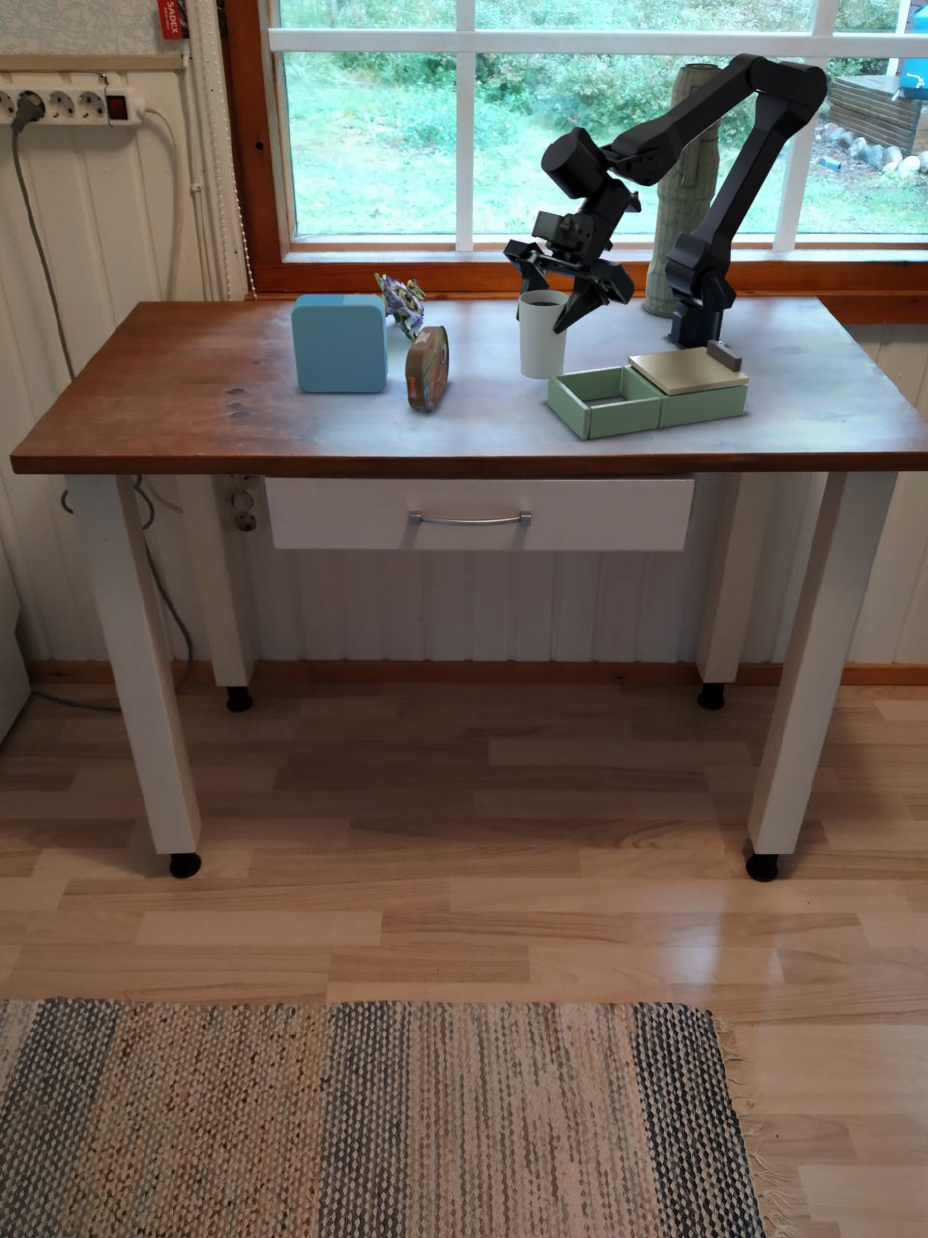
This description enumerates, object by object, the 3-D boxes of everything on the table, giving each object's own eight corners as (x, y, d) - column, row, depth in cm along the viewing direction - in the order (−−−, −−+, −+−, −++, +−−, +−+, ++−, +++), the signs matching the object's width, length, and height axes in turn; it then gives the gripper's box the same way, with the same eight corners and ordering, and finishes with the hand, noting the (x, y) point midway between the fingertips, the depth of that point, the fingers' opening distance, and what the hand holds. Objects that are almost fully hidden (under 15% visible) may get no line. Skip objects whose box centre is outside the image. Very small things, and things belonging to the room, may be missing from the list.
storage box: (698, 382, 137) (702, 354, 135) (742, 415, 128) (748, 385, 126) (546, 403, 131) (548, 375, 129) (582, 439, 122) (584, 409, 120)
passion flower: (416, 373, 154) (427, 327, 142) (346, 361, 152) (352, 314, 141) (422, 312, 157) (433, 263, 146) (353, 300, 156) (360, 250, 144)
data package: (388, 379, 138) (384, 293, 131) (386, 393, 134) (382, 305, 127) (302, 379, 138) (294, 293, 131) (298, 392, 134) (289, 305, 127)
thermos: (648, 320, 157) (676, 70, 136) (640, 296, 167) (665, 59, 146) (704, 321, 157) (741, 71, 136) (692, 297, 166) (725, 59, 146)
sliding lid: (703, 352, 135) (706, 333, 133) (748, 383, 126) (752, 363, 124) (627, 362, 132) (629, 343, 130) (668, 395, 123) (671, 375, 121)
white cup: (573, 366, 136) (577, 293, 130) (555, 384, 131) (559, 309, 125) (528, 358, 138) (530, 287, 133) (509, 376, 134) (510, 302, 128)
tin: (427, 420, 127) (425, 357, 122) (403, 418, 127) (400, 355, 123) (451, 376, 139) (451, 316, 134) (429, 374, 139) (428, 315, 134)
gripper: (513, 172, 129) (455, 277, 129) (629, 196, 118) (565, 310, 118) (550, 223, 138) (495, 321, 138) (661, 249, 127) (601, 355, 127)
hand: (536, 326), depth 130 cm, fingers closed on white cup, 6 cm apart
